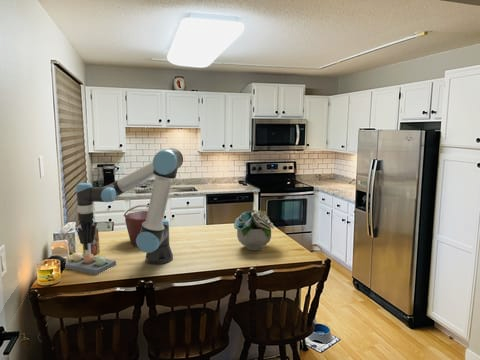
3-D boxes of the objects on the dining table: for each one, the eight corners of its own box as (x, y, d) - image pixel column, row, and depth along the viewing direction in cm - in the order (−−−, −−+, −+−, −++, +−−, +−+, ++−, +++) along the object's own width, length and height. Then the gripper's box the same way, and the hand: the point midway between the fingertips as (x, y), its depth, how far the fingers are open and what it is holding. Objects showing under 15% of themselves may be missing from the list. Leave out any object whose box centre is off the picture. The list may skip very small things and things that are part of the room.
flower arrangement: (271, 257, 204) (272, 216, 200) (229, 254, 209) (229, 214, 205) (276, 243, 228) (276, 206, 224) (238, 240, 233) (238, 204, 229)
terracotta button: (96, 261, 191) (95, 254, 191) (89, 265, 187) (88, 257, 186) (89, 260, 193) (88, 253, 193) (81, 263, 189) (81, 256, 188)
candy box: (94, 251, 212) (93, 227, 210) (100, 252, 211) (98, 228, 208) (82, 256, 204) (81, 231, 202) (88, 257, 203) (86, 232, 200)
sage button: (107, 263, 188) (107, 256, 188) (100, 267, 184) (100, 260, 183) (100, 262, 190) (100, 255, 190) (93, 266, 186) (93, 258, 185)
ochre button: (84, 259, 194) (84, 252, 194) (77, 262, 190) (77, 255, 189) (77, 258, 196) (77, 251, 196) (70, 261, 192) (70, 254, 191)
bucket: (168, 238, 238) (167, 202, 234) (157, 249, 216) (156, 209, 212) (133, 237, 240) (131, 201, 236) (119, 248, 219) (117, 208, 215)
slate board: (116, 265, 192) (115, 260, 192) (97, 275, 180) (96, 270, 179) (82, 258, 201) (82, 254, 201) (61, 267, 188) (61, 263, 188)
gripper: (89, 208, 193) (92, 250, 197) (70, 214, 181) (73, 258, 185) (100, 210, 190) (102, 252, 194) (81, 215, 178) (84, 260, 182)
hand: (88, 255), depth 189 cm, fingers closed
